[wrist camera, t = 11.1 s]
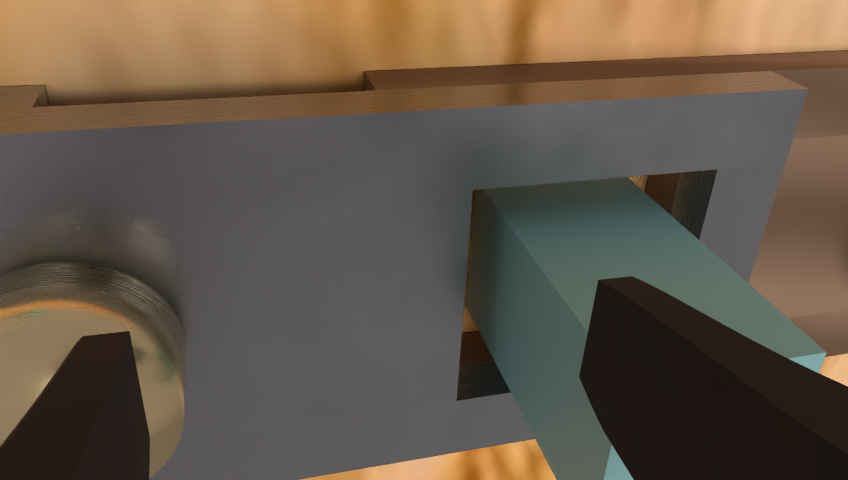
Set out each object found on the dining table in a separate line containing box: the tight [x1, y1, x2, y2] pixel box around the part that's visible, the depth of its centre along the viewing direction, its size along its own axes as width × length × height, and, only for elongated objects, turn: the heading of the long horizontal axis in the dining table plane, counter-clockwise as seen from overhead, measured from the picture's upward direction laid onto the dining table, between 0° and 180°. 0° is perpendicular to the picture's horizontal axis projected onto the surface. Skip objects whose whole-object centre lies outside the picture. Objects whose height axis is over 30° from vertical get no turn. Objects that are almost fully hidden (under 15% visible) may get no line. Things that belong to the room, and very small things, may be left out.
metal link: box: [0, 71, 808, 480], centre depth 19 cm, size 11×21×5 cm, turn 88°
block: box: [466, 177, 827, 480], centre depth 19 cm, size 4×4×9 cm
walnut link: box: [364, 51, 848, 365], centre depth 22 cm, size 11×21×4 cm, turn 88°
